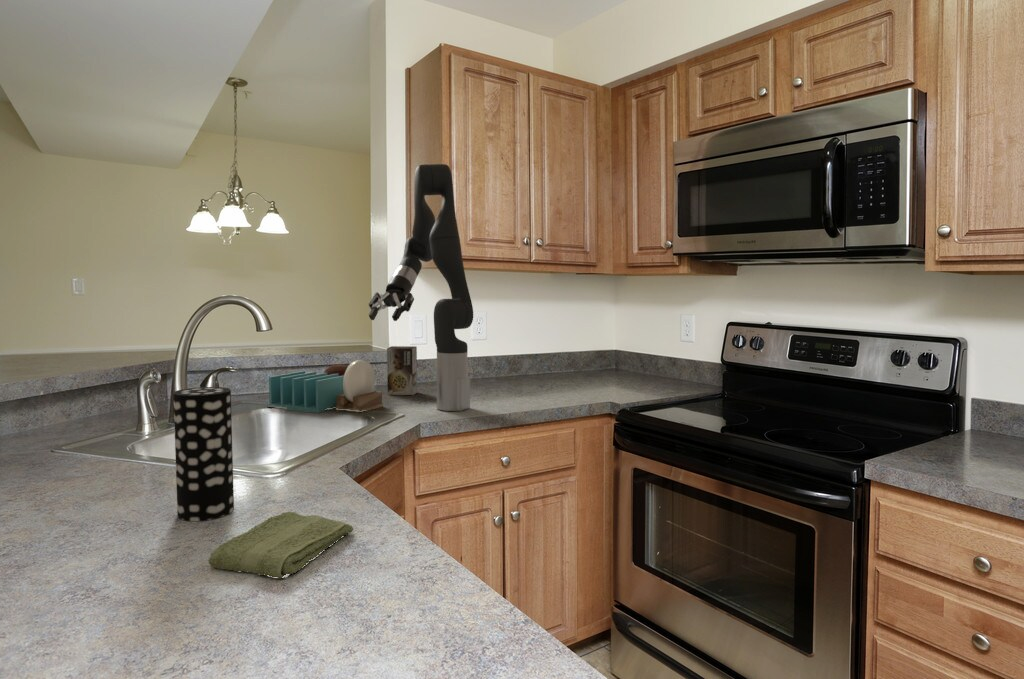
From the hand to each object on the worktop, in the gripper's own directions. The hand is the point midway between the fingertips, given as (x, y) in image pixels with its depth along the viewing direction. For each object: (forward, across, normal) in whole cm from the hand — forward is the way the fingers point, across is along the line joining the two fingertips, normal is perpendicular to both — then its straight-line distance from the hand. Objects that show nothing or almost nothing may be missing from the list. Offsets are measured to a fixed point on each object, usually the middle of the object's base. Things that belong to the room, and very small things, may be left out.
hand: (382, 318), depth 202 cm
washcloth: (+91, +52, -53) cm, 117 cm away
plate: (+22, 0, +4) cm, 22 cm away
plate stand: (+27, 0, +10) cm, 29 cm away
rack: (+29, -16, +8) cm, 34 cm away
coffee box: (+8, -3, +30) cm, 31 cm away
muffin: (+15, -21, +22) cm, 34 cm away
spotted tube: (+86, +30, -49) cm, 104 cm away
